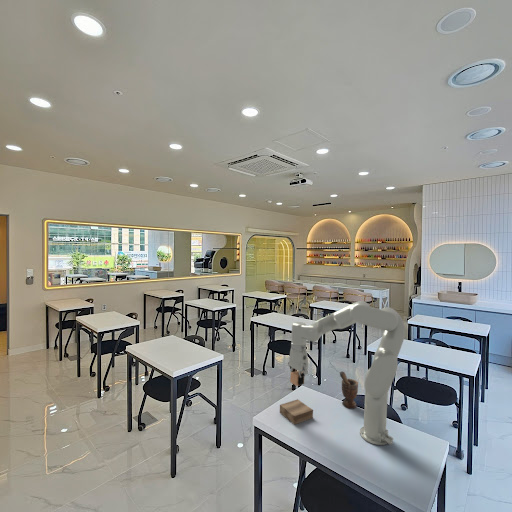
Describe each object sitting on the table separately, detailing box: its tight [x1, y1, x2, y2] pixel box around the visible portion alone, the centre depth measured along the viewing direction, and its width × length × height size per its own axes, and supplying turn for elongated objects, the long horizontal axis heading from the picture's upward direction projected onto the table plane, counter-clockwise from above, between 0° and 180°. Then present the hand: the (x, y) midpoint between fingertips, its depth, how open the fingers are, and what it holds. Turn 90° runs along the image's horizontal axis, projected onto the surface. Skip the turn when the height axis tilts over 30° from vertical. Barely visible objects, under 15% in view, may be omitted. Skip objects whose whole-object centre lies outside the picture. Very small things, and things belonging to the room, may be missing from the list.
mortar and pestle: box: [339, 371, 359, 409], centre depth 159 cm, size 12×9×20 cm
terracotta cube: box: [289, 370, 302, 387], centre depth 148 cm, size 5×5×5 cm
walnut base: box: [279, 398, 314, 425], centre depth 149 cm, size 12×12×4 cm
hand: (297, 381), depth 148 cm, fingers closed on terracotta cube, 5 cm apart
